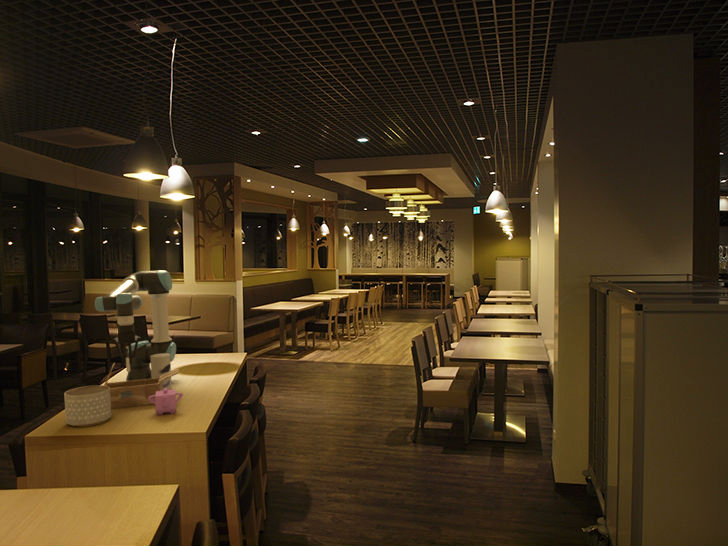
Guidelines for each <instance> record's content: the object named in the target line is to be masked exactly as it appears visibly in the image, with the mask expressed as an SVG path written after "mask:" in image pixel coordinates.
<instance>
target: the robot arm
mask: <svg viewBox="0 0 728 546" xmlns="http://www.w3.org/2000/svg"><path fill="white" fill-rule="evenodd" d="M172 289H173V279H172V275H171V274H170V272H169V271H167V270H161V269H160V270H159V269H158V270H141V271H136V272H134V273H131V274H130V275H128V276H126V277H125V278H124V279H123V280H122V281H121V283H120V284H119V285H118V286H116V288H114V289H112V290H111V291H110V292H109V293H107V294H106V295H105V296H98V297H96V298H95V300H94V307H95V310H96V311H98V312H116V314H117V315H116V316H117V321H116V322H117V324H118V325H117V333H118V334H117V336H116V337H115V338H113V340H112V342H113V343H114V344H115V348H116V351H117V354H118V357H119V358H121V359H123V365H124V366H126V367H125V368H126V369H125V370H126V372H127V375H126V379H125V381H133V380H144V379H152V376H151V357H150V356H151V355H155V354H163V353H166V354H170V363H172V362H173V361H174V360H175V357H176V353H177V344H176V343H175V342H174V341H173V338H171V336H170V331H169V330H170V328H169V315H168V311H169V310H168V297H167V296H168V295H169V294H170V291H171V290H172ZM137 292H147V295H148V296H149V297H150V299H151V301H150V303H151V316H152V333H153V334H152V335H153V337H152V339H151V340H150V342H149V340H142V341H141V336H138V335H136V333H135V332H136V331H135V324H134V323H135V320H134V319H135V318H134V311H136V310H138V309H140V308H141V307H142V306H143V302H144V301H143V298H142V297H141V296H140V295H138V294H135V293H137ZM133 340H135V342H133ZM119 341H120V342H121V343H122V349H121V347H120V346H121V345H120V344H119ZM132 342H133V343H132ZM127 344H128V345H127Z"/></svg>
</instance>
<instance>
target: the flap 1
mask: <svg viewBox="0 0 728 546" xmlns="http://www.w3.org/2000/svg"><path fill="white" fill-rule="evenodd" d="M115 364H116V362H113V364H112V366H111V367H110V371H109V373H108V375H107V378H105V383H104V384H103V386H105V385H106V383H109V382H108V381H109V379H110V376H111V374H112V372H113V370H114V366H115Z"/></svg>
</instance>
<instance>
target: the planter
mask: <svg viewBox="0 0 728 546" xmlns="http://www.w3.org/2000/svg"><path fill="white" fill-rule="evenodd" d="M63 395H64V397H63V398H64V411H65V412H64V413H65V423H66V424H67V425H69V426H71V425H74V426H86V427H92V426H91V425H93V426H96V425H100V424H103V423H105V422H107V421H108V420H109V419H110V418H111V417H112V409H111V397H110V387H109V386H104V384H103V385H102V384H101V385H95V384H94V385H87V386H80V387H75V388H71V389H68V390H66V391H65V392H64V393H63ZM74 426H73V427H74Z"/></svg>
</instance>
